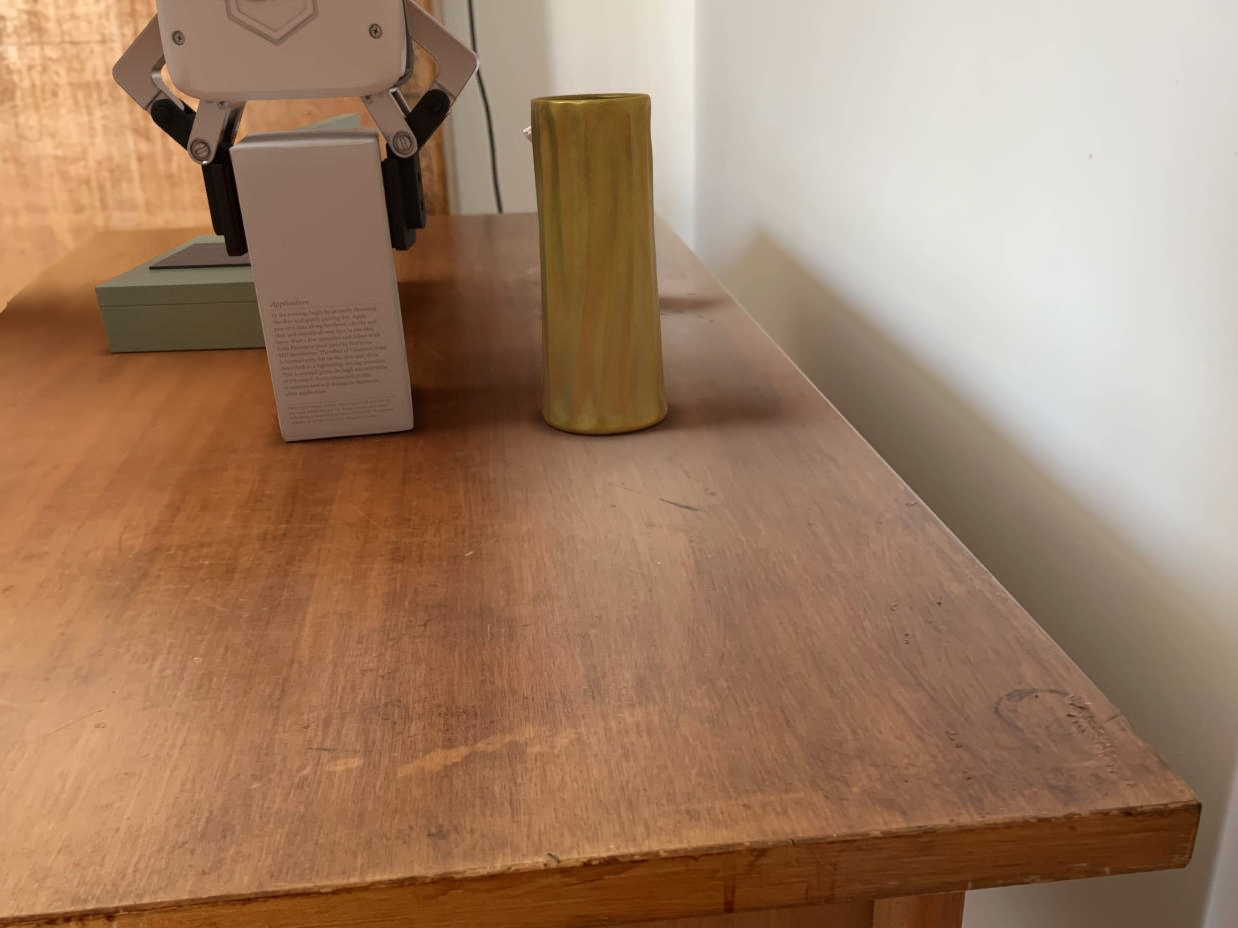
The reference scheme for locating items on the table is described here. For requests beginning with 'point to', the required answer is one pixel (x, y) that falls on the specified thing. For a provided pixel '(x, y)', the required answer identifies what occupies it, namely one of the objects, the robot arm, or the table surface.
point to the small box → (325, 280)
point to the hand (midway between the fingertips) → (324, 245)
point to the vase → (598, 262)
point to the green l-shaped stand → (189, 294)
